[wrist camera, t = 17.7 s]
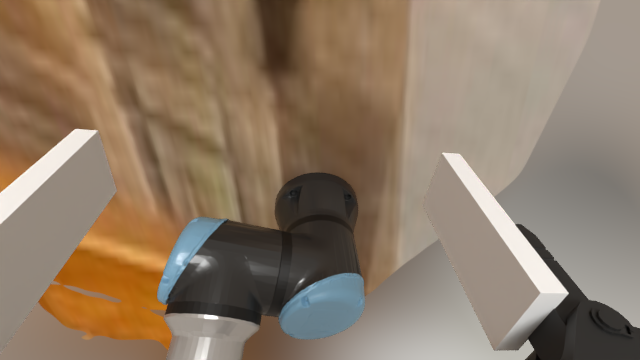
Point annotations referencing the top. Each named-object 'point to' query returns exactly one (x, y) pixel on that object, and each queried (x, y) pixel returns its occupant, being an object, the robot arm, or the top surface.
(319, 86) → the top surface
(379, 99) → the top surface
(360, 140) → the top surface
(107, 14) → the top surface
